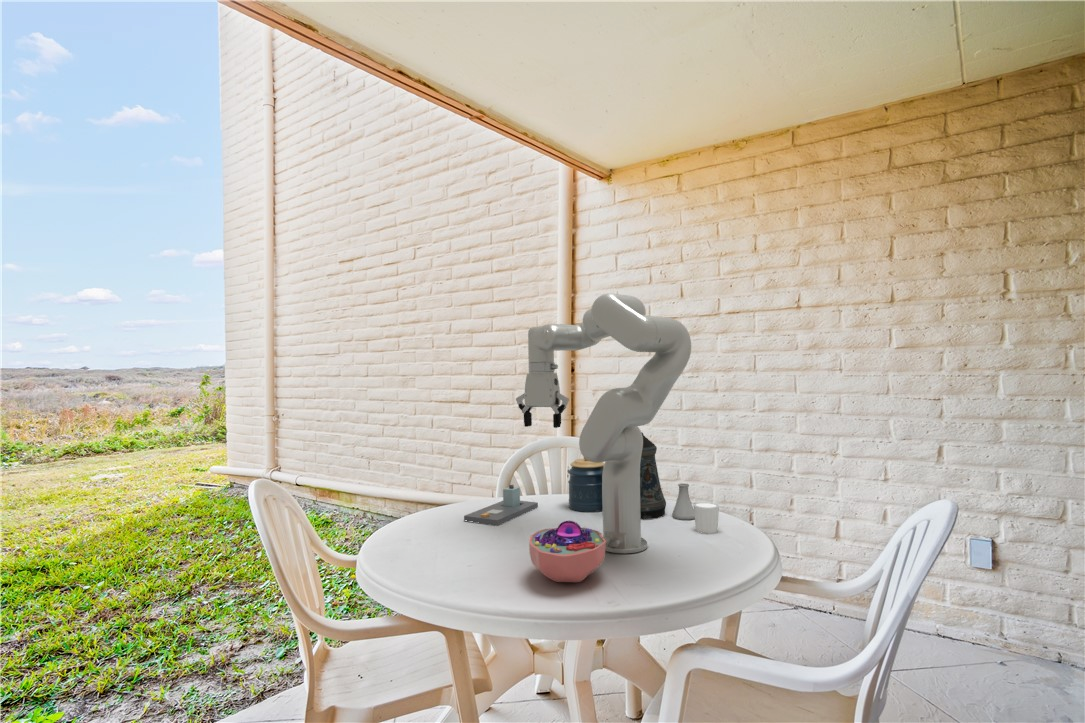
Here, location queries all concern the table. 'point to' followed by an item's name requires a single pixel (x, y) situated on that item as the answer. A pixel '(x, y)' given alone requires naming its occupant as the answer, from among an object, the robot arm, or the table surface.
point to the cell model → (567, 552)
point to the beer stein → (650, 484)
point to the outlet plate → (499, 513)
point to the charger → (511, 496)
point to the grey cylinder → (706, 517)
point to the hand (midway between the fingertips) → (542, 426)
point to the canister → (585, 485)
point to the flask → (683, 504)
